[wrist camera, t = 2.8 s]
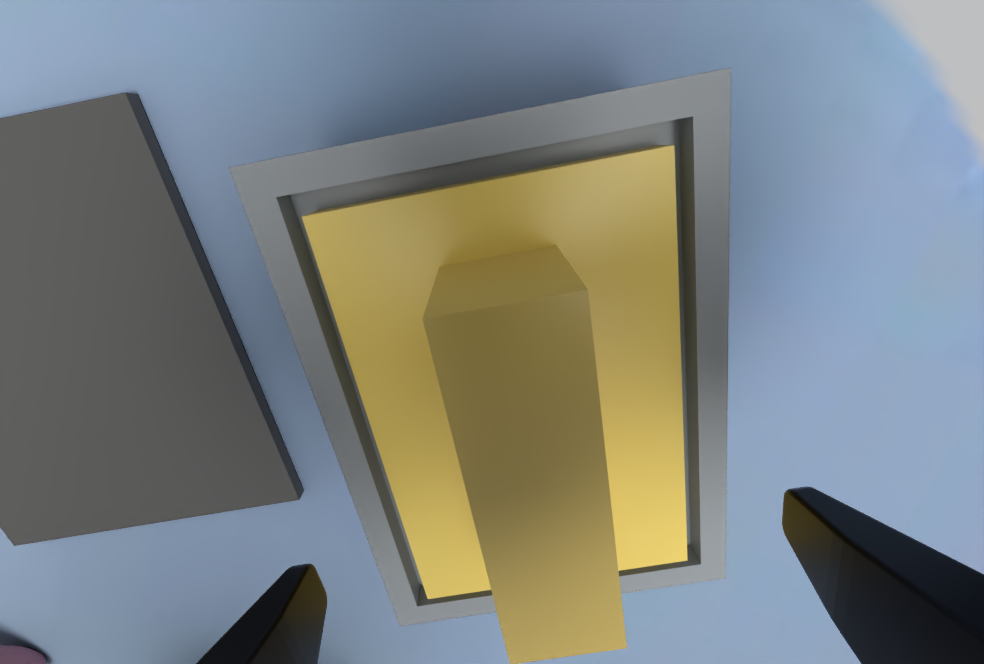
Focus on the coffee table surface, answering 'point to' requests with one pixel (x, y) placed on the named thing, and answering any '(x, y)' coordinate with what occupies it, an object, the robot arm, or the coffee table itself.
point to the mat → (116, 340)
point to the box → (486, 153)
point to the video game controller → (20, 655)
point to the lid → (523, 383)
